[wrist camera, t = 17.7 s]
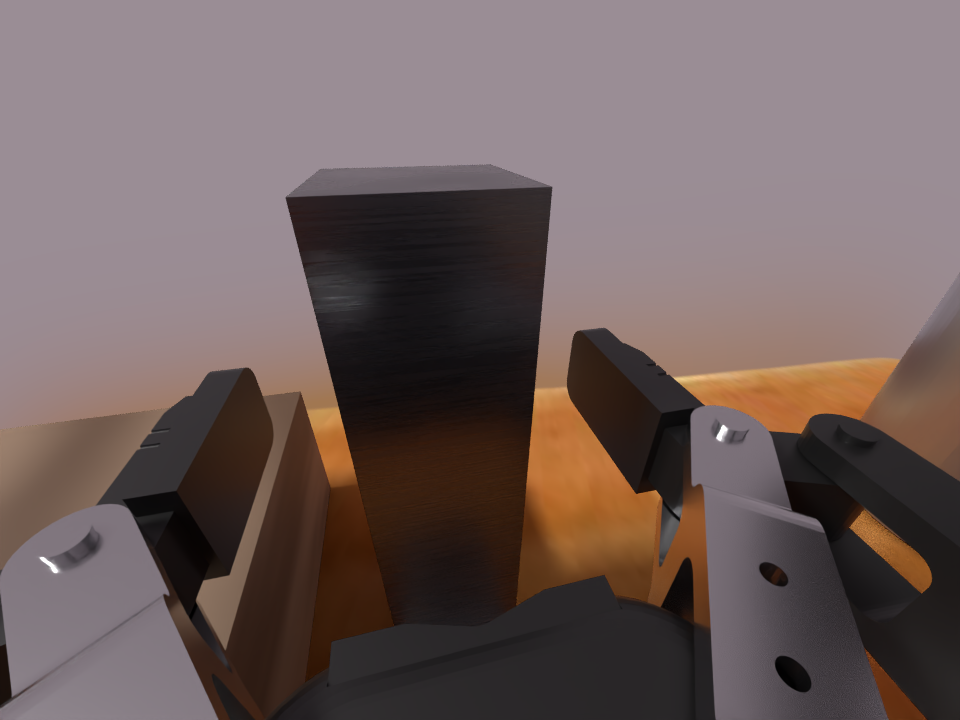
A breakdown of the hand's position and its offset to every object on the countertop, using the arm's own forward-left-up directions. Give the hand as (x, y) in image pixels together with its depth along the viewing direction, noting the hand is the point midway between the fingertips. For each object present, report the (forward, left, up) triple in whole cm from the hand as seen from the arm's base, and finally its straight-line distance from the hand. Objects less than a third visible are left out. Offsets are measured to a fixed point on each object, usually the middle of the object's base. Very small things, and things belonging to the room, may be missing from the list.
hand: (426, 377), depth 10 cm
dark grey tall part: (-1, +2, -10) cm, 10 cm away
